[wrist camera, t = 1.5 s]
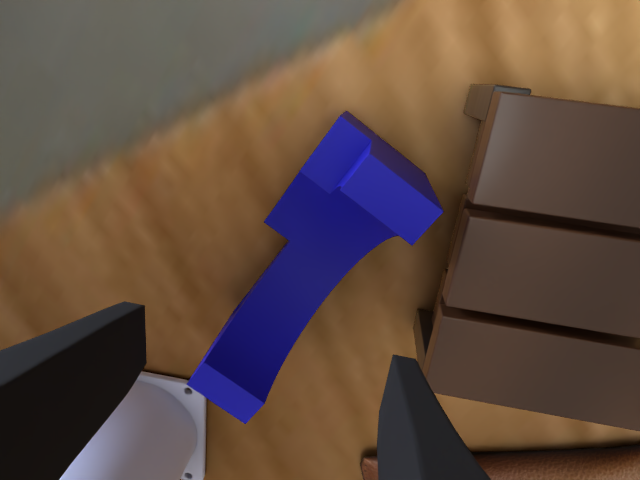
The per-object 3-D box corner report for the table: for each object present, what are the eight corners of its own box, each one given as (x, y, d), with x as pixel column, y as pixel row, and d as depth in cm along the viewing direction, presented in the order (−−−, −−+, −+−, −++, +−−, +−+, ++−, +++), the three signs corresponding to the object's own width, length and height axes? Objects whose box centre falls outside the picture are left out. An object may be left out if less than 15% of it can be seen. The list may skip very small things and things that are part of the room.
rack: (412, 328, 22) (424, 417, 16) (469, 83, 17) (514, 84, 11) (613, 362, 21) (702, 470, 15) (727, 115, 16) (915, 133, 11)
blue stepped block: (346, 110, 18) (331, 122, 13) (425, 173, 19) (443, 211, 13) (211, 294, 23) (155, 363, 17) (278, 341, 23) (245, 424, 17)
